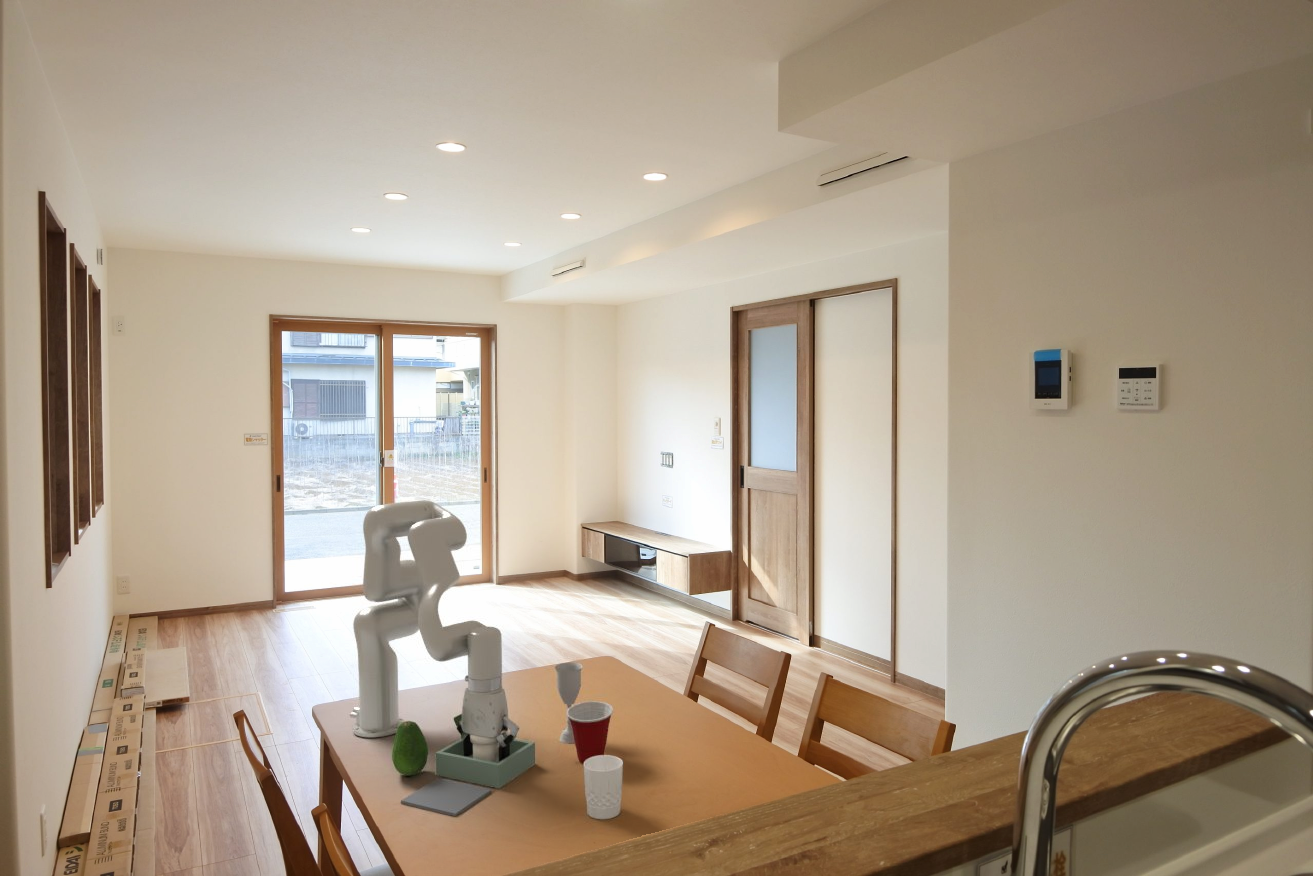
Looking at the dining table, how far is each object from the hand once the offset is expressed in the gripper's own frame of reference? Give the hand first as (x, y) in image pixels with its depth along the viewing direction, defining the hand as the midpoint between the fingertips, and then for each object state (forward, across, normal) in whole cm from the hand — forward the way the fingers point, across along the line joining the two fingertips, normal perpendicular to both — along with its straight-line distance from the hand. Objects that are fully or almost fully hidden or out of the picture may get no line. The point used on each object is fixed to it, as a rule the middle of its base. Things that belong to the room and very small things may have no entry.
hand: (486, 758), depth 191 cm
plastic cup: (+3, +19, +14) cm, 24 cm away
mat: (+2, +1, -15) cm, 15 cm away
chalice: (+3, +8, +23) cm, 24 cm away
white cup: (+3, +34, -7) cm, 35 cm away
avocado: (+3, -14, -9) cm, 17 cm away
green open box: (+2, 0, 0) cm, 2 cm away
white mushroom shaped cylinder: (+3, 0, 0) cm, 3 cm away
